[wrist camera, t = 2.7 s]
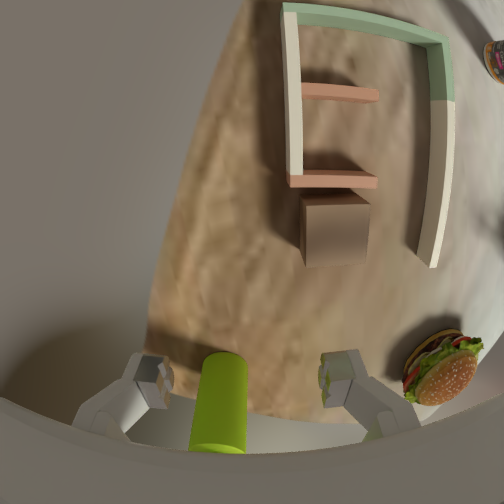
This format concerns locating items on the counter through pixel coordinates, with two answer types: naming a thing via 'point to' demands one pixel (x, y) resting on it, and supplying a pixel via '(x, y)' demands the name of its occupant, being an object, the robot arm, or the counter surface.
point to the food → (440, 367)
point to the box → (439, 102)
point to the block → (333, 229)
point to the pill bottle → (495, 60)
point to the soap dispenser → (221, 406)
